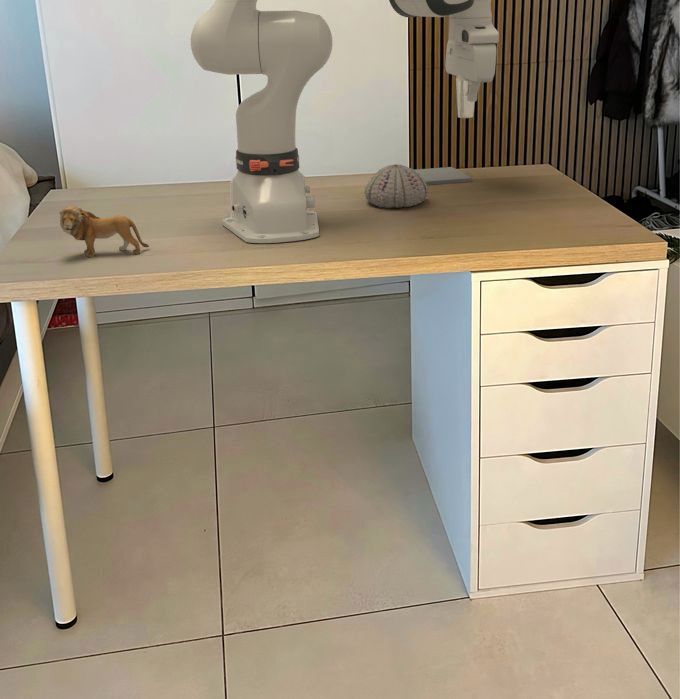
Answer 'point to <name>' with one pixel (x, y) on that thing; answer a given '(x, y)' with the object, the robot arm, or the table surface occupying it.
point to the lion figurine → (98, 228)
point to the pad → (442, 175)
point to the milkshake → (463, 98)
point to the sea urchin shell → (396, 187)
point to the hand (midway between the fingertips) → (467, 99)
